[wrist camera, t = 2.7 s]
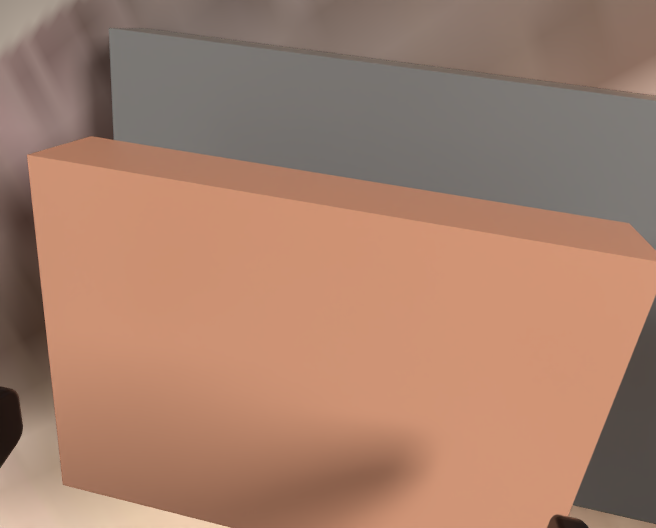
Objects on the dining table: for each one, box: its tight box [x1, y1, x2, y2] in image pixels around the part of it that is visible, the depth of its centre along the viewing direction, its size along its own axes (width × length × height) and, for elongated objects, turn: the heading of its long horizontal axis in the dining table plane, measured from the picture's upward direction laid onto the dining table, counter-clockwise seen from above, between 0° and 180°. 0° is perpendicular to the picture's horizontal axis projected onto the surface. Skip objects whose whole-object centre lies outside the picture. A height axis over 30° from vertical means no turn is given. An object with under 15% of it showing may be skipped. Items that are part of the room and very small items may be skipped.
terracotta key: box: [27, 136, 656, 528], centre depth 12 cm, size 8×11×4 cm
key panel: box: [109, 28, 656, 524], centre depth 16 cm, size 12×30×2 cm, turn 84°
